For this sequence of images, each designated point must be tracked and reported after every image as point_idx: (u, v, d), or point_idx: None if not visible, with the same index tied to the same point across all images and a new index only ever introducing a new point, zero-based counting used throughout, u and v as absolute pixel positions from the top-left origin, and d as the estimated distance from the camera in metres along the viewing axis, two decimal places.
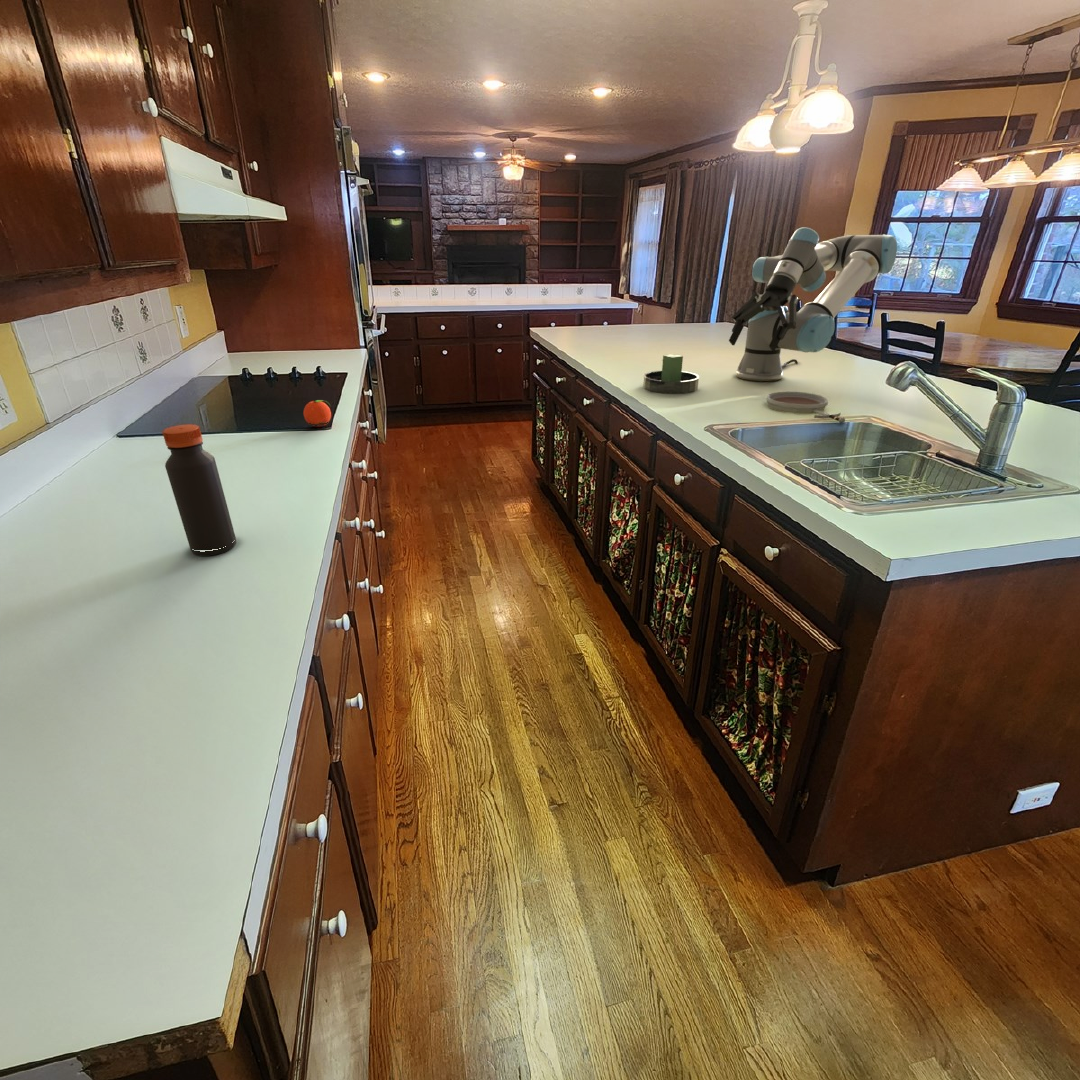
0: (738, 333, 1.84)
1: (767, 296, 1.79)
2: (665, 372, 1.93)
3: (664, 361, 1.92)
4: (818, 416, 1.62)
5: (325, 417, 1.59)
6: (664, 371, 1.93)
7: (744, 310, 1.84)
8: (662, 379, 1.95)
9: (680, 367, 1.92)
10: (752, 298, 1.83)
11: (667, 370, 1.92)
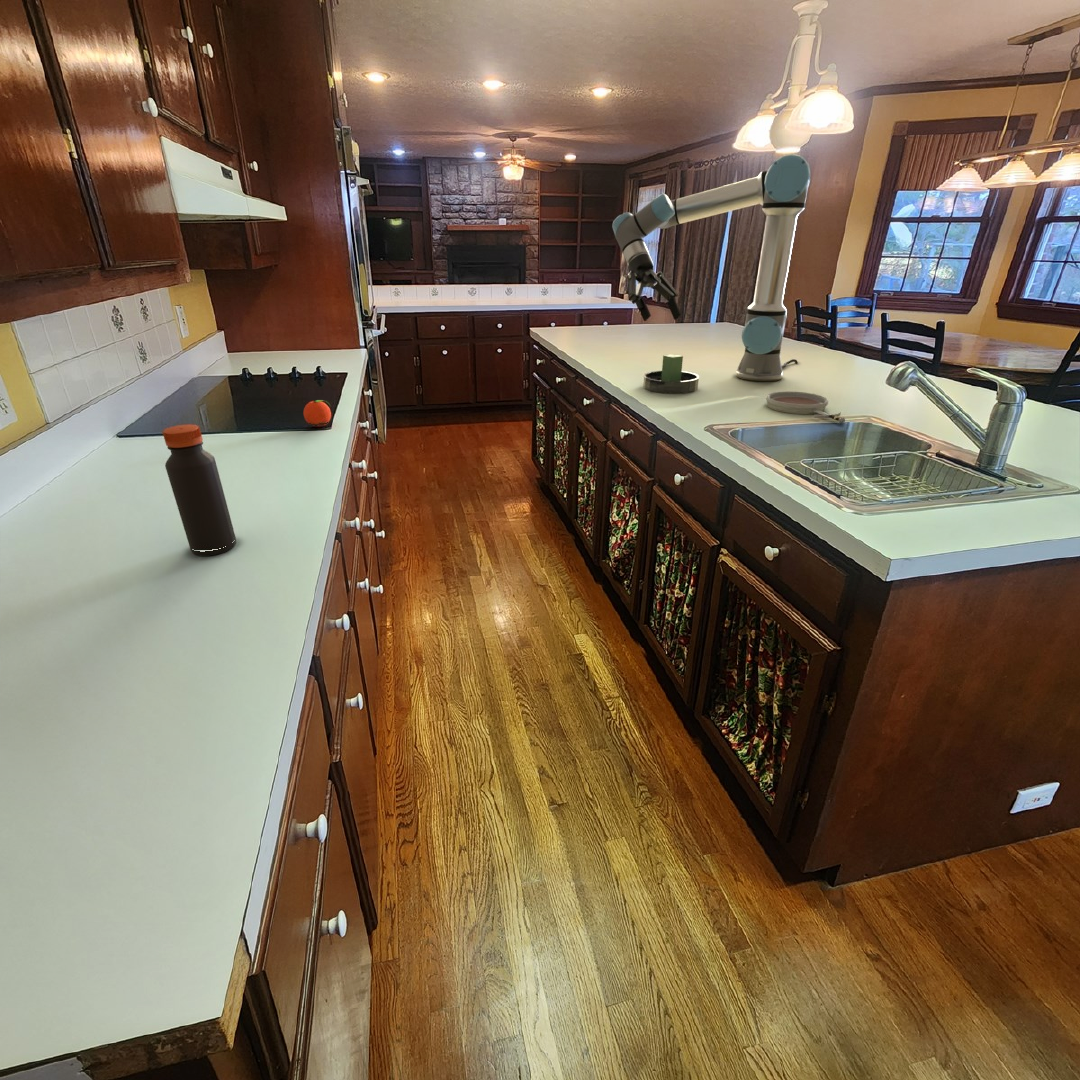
0: (674, 306, 1.96)
1: None
2: (665, 372, 1.93)
3: (664, 361, 1.92)
4: (818, 416, 1.62)
5: (325, 417, 1.59)
6: (664, 371, 1.93)
7: None
8: (662, 379, 1.95)
9: (680, 367, 1.92)
10: None
11: (667, 370, 1.92)
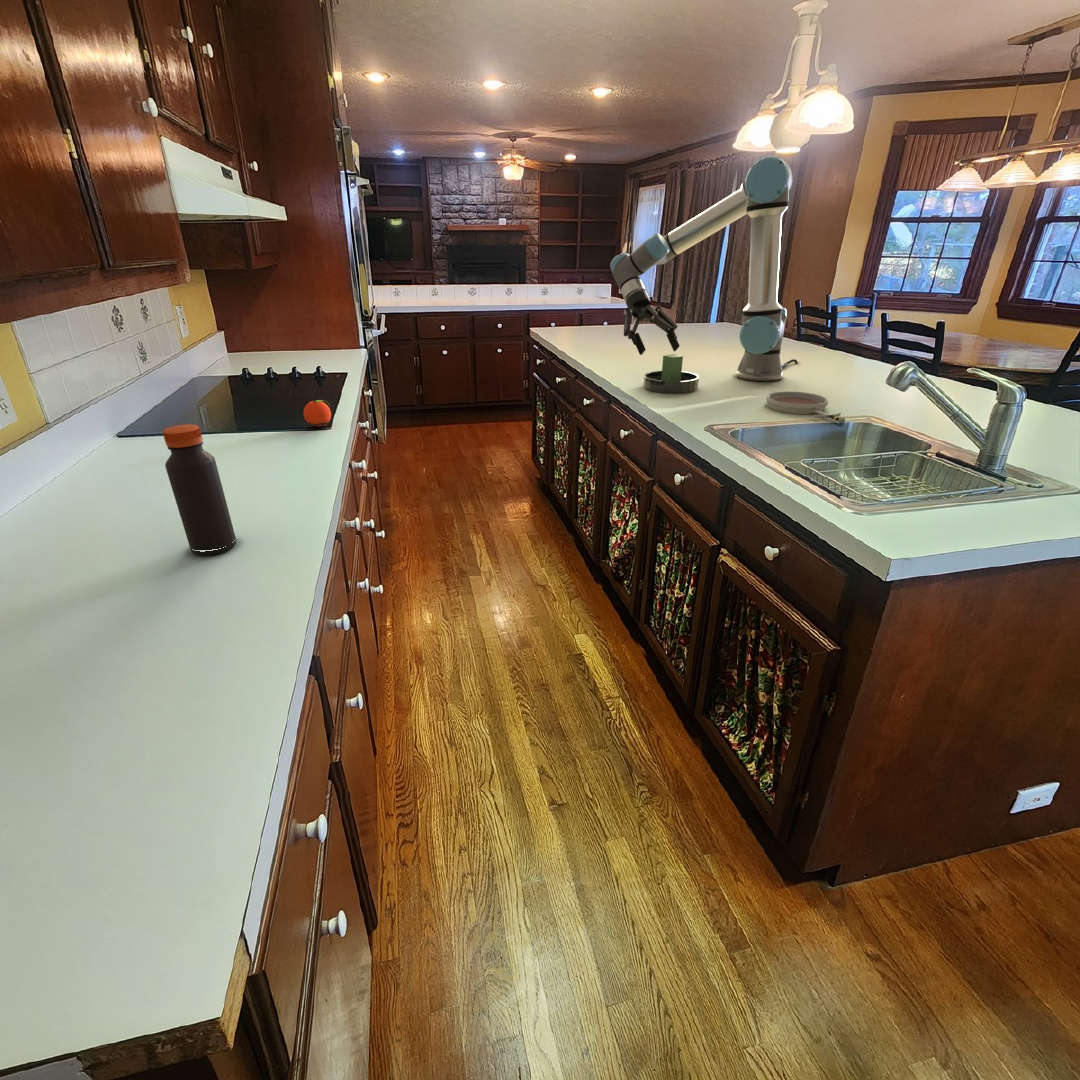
0: (672, 338, 1.99)
1: None
2: (665, 372, 1.93)
3: (664, 361, 1.92)
4: (818, 416, 1.62)
5: (325, 417, 1.59)
6: (664, 371, 1.93)
7: None
8: (662, 379, 1.95)
9: (680, 367, 1.92)
10: None
11: (667, 370, 1.92)
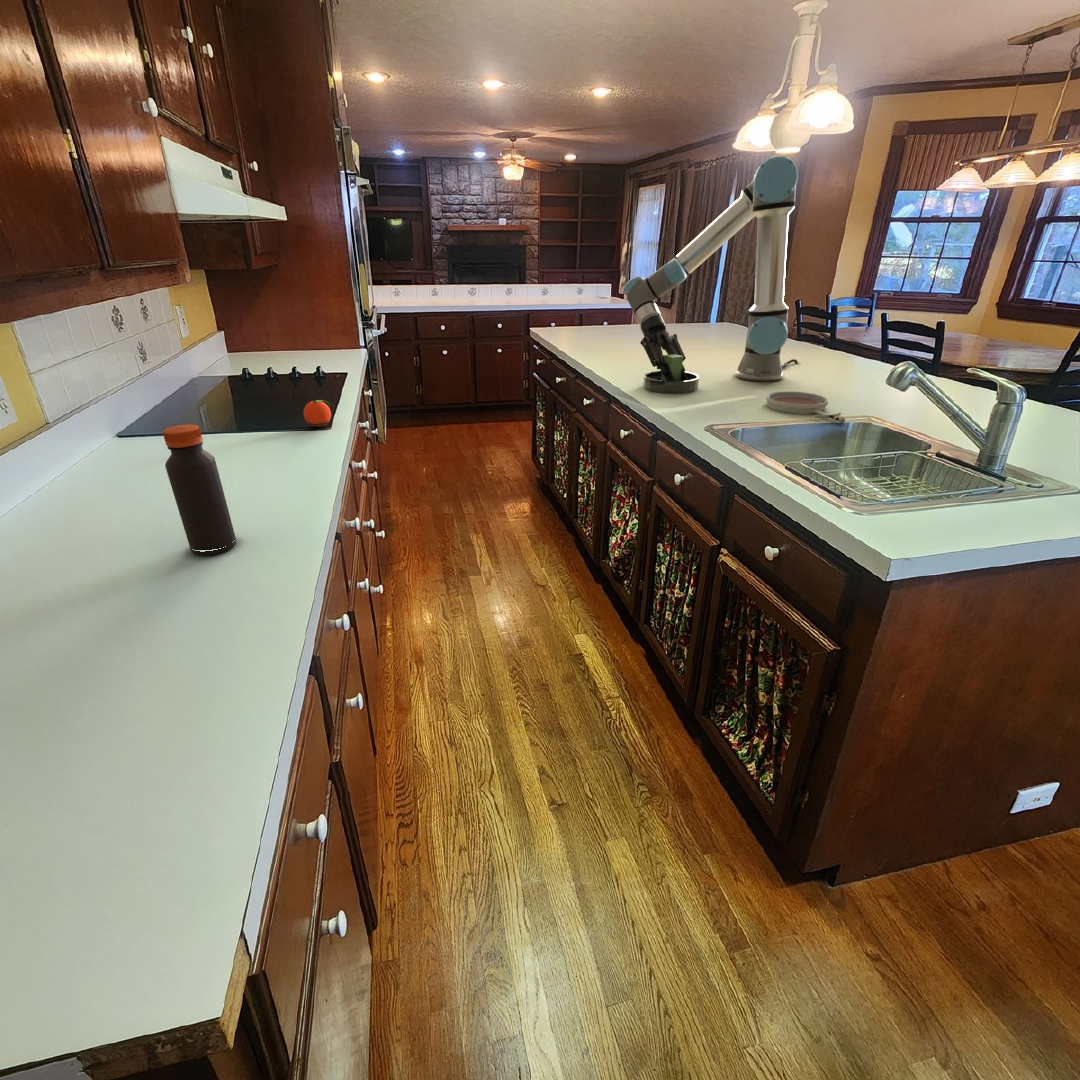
0: None
1: None
2: None
3: (664, 361, 1.92)
4: (818, 416, 1.62)
5: (325, 417, 1.59)
6: None
7: None
8: (662, 379, 1.95)
9: (680, 367, 1.92)
10: None
11: None
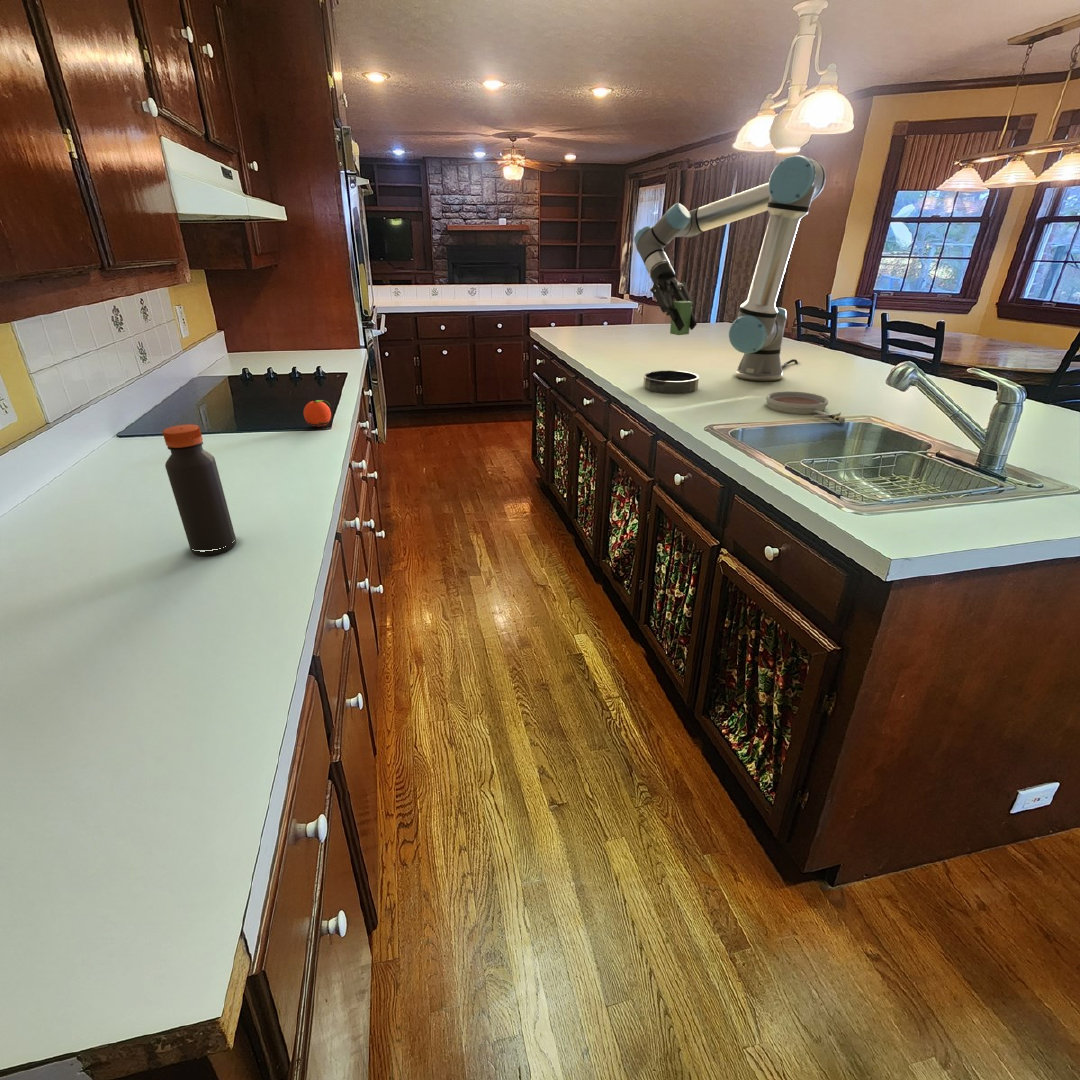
0: None
1: None
2: None
3: None
4: (818, 416, 1.62)
5: (325, 417, 1.59)
6: None
7: None
8: (671, 325, 2.00)
9: (689, 313, 1.97)
10: None
11: None
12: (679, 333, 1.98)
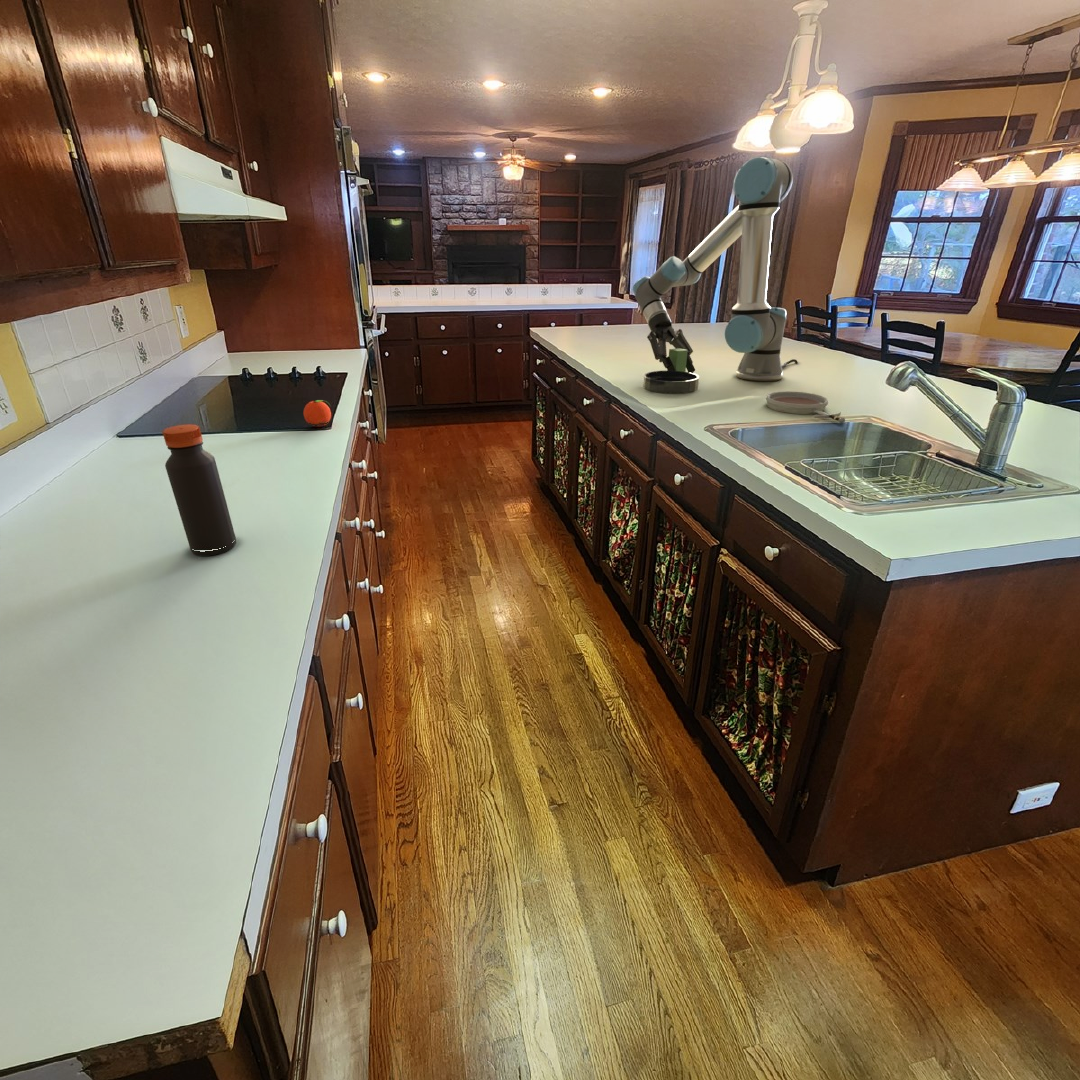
0: (688, 363, 2.08)
1: None
2: None
3: (670, 355, 2.07)
4: (818, 416, 1.62)
5: (325, 417, 1.59)
6: None
7: None
8: None
9: (685, 360, 2.06)
10: None
11: (673, 363, 2.06)
12: None
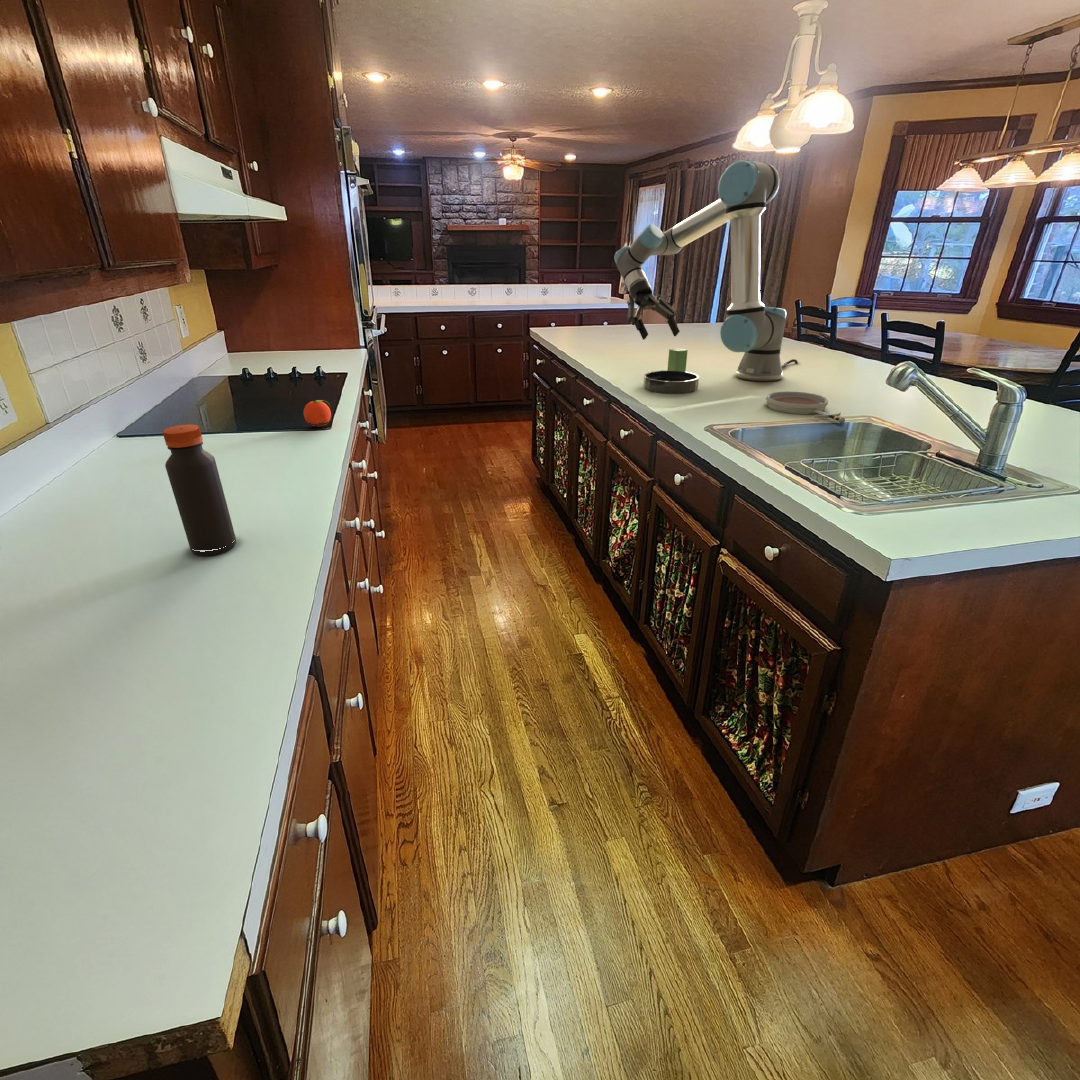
0: (672, 324, 2.15)
1: None
2: (671, 365, 2.07)
3: (670, 355, 2.07)
4: (818, 416, 1.62)
5: (325, 417, 1.59)
6: (670, 364, 2.08)
7: None
8: None
9: (685, 360, 2.06)
10: None
11: (673, 363, 2.06)
12: None
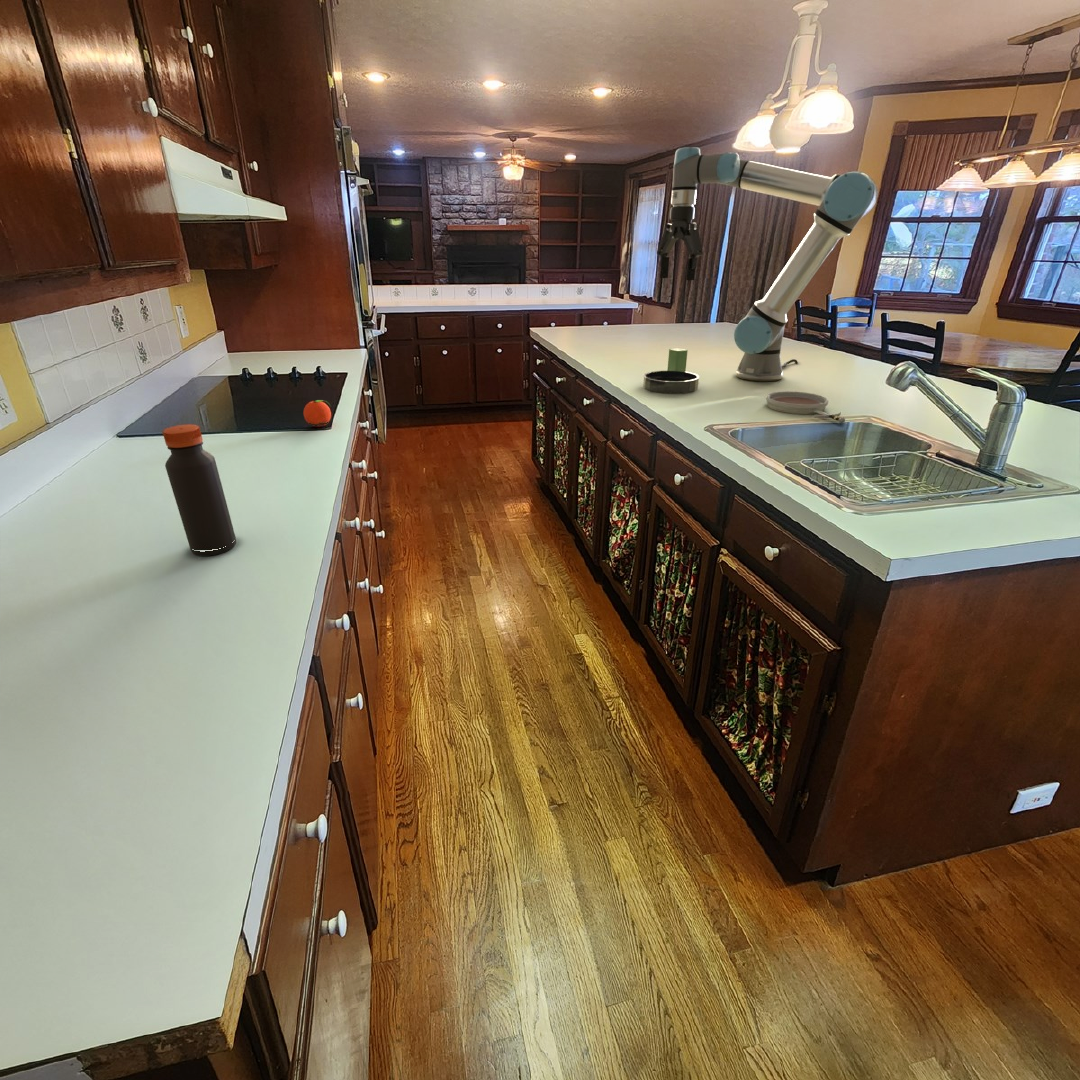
0: (666, 266, 2.04)
1: (673, 229, 1.94)
2: (671, 365, 2.07)
3: (670, 355, 2.07)
4: (818, 416, 1.62)
5: (325, 417, 1.59)
6: (670, 364, 2.08)
7: (663, 243, 2.01)
8: None
9: (685, 360, 2.06)
10: (665, 231, 1.99)
11: (673, 363, 2.06)
12: None
